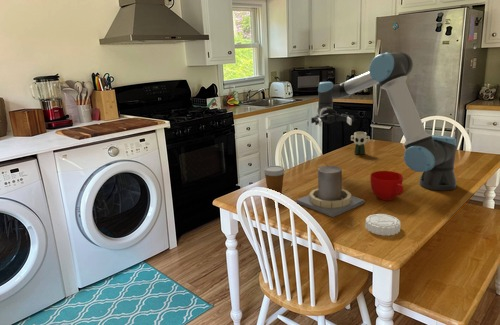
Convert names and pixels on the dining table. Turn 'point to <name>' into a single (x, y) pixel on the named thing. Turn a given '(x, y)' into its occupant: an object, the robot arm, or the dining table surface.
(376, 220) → the mooncake
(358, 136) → the character mug
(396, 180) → the ceramic cup
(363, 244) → the dining table surface
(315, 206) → the board
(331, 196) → the pillar candle
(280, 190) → the disposable coffee cup
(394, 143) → the dining table surface
